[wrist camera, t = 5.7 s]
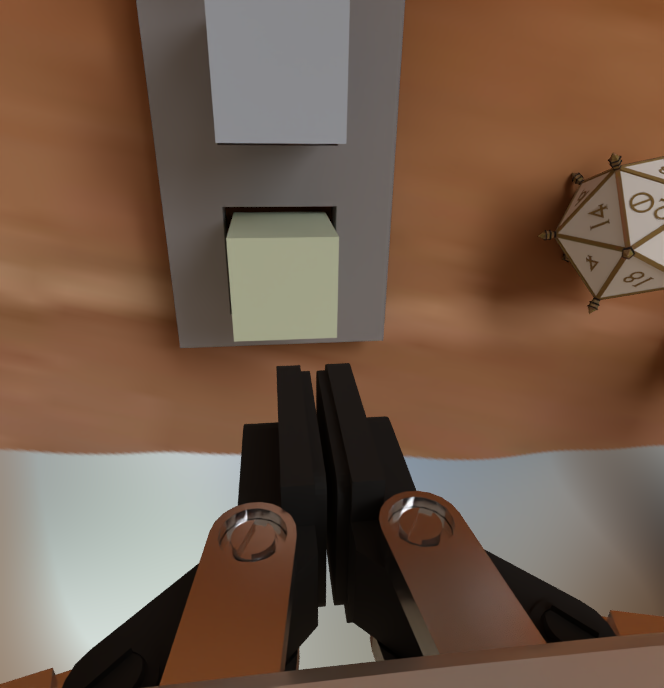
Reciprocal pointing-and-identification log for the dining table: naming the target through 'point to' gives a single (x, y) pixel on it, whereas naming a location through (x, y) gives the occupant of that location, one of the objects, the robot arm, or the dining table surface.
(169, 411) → the dining table surface
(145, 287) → the dining table surface
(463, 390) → the dining table surface
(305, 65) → the slate block
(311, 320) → the sage block
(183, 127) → the board
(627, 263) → the game die
